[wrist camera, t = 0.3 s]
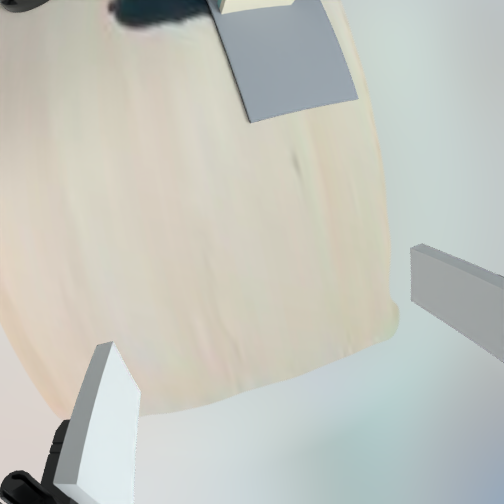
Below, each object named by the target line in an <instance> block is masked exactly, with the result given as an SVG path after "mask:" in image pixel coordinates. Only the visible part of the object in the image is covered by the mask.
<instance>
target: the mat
mask: <svg viewBox="0 0 504 504" xmlns="http://www.w3.org/2000/svg"><path fill="white" fill-rule="evenodd" d="M207 2H208V5H209V8H210V10H211V13H212V16H213V18H214V21H215V24H216V26H217V29H218V32H219V34H220V37H221V40H222V43H223V45H224V48H225V51H226V54H227V56H228V59H229V62H230V65H231V68H232V71H233V73H234V76H235V79H236V82H237V85H238V88H239V91H240V94H241V97H242V100H243V103H244V106H245V109H246V112H247V115H248V118H249V121H250V123H253V122H257V121H260V120H264V119H268V118H272V117H276V116H280V115H284V114H288V113H292V112H296V111H301V110H305V109H310V108H315V107H319V106H324V105H329V104H335V103H340V102H345V101H351V100H357V99H358V95H357V92H356V89H355V86H354V83H353V80H352V77H351V75H350V72H349V69H348V66H347V63H346V61H345V58H344V55H343V53H342V50H341V48H340V45H339V42H338V40H337V37H336V35H335V33H334V30H333V28H332V25H331V23H330V21H329V19H328V16H327V14H326V12H325V10H324V7H323V5H322V3H321V1H320V0H295V1H294V2H293V3H292V5H285V6H274V7H265V8H257V9H250V10H243V11H237V12H231V13H226V14H221V12H220V10H219V7H218V5H217V2H218V0H207Z"/></svg>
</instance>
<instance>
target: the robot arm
mask: <svg viewBox="0 0 504 504" xmlns="http://www.w3.org/2000/svg"><path fill="white" fill-rule="evenodd" d="M47 1H49V0H0V3H1V5H3V6H4V7H5V8H6V9H7V10H9V11H11V12H24V11H28V10H31V9H33V8H36V7H38V6H40V5H42V4H44V3H46V2H47ZM410 253H411V301H412V302H414V303H416V304H417V305H419V306H420V307H422V308H423V309H425V310H426V311H428V312H429V313H431V314H433V315H434V316H436V317H437V318H439V319H440V320H442V321H443V322H445V323H446V324H448V325H449V326H451V327H452V328H454V329H455V330H457V331H458V332H460V333H461V334H463V335H464V336H466V337H467V338H469V339H470V340H472V341H473V342H474V343H476V344H477V345H479V346H480V347H482V348H483V349H485V350H486V351H487V352H489V353H490V354H492V355H493V356H495V357H496V358H498V359H499V360H500V361H502V362H503V363H504V277H503V276H500V275H497V274H495V273H493V272H490V271H488V270H486V269H483V268H481V267H479V266H476V265H474V264H472V263H469V262H467V261H465V260H462V259H460V258H457V257H454V256H452V255H450V254H447V253H445V252H442V251H440V250H437V249H435V248H432V247H430V246H427V245H424V244H420V245H417V246H414V247H412V248H410ZM140 397H141V391H140V390H139V388H138V386H137V385H136V383H135V381H134V379H133V378H132V376H131V374H130V372H129V370H128V368H127V367H126V365H125V363H124V361H123V359H122V357H121V355H120V353H119V352H118V350H117V348H116V346H115V344H114V342H113V341H112V342H108V343H104V344H100V345H97V346H96V349H95V351H94V354H93V356H92V359H91V362H90V364H89V367H88V370H87V372H86V375H85V378H84V380H83V383H82V386H81V389H80V392H79V395H78V398H77V400H76V403H75V406H74V409H73V413H72V416H71V419H70V420H64V421H63V422H62V423H61V425H60V426H59V427H58V429H57V430H56V432H55V435H54V439H53V442H52V443H53V445H51V448H50V454H49V455H48V458H47V462H46V466H45V469H44V473H43V477H42V481H41V484H40V483H38V482H37V481H36V480H35V479H34V478H33V477H32V476H31V475H30V474H29V473H27V472H25V471H23V470H21V471H14V472H12V473H10V474H9V475H8V476H6V477H5V478H4V480H3V482H2V484H1V487H0V498H1V499H2V500H3V501H4V502H6V503H7V504H134V478H135V456H136V441H137V428H138V417H139V406H140ZM0 504H2V503H1V502H0Z"/></svg>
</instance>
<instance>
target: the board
mask: <svg viewBox="0 0 504 504" xmlns="http://www.w3.org/2000/svg"><path fill="white" fill-rule="evenodd" d="M294 1H295V0H218V2H217V5H218V7H219V10H220V12H221V14H226V13H231V12H237V11H243V10H250V9H257V8H265V7H274V6H285V5H292V3H293V2H294Z"/></svg>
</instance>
